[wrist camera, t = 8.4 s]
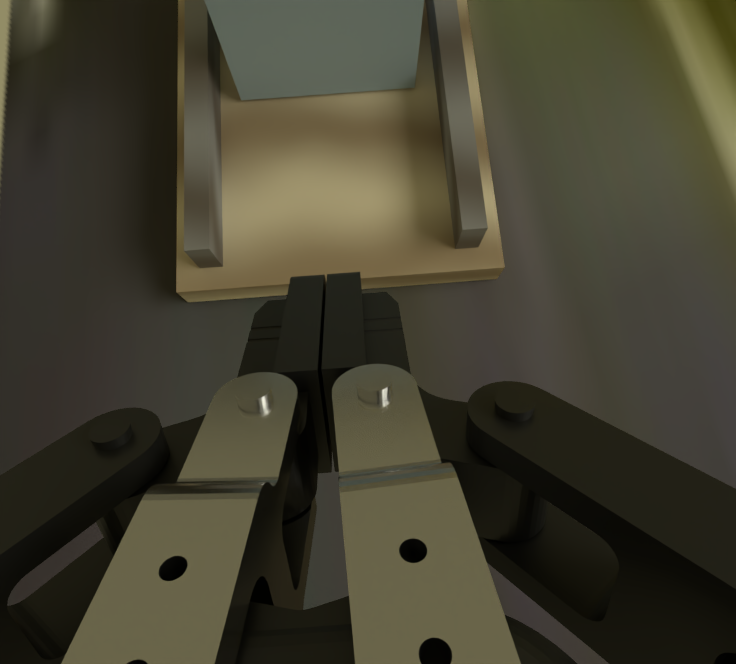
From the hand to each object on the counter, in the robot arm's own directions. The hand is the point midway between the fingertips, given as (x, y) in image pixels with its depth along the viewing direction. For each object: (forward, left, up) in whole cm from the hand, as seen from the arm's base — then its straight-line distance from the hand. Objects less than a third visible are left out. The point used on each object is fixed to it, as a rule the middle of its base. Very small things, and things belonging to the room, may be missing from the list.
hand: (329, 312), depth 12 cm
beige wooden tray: (-11, -14, -12) cm, 21 cm away
